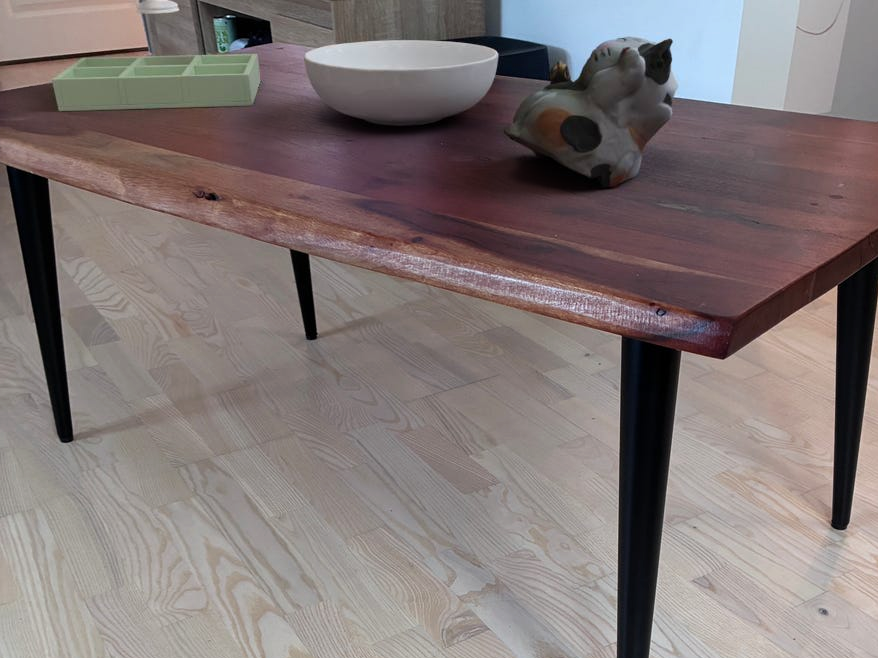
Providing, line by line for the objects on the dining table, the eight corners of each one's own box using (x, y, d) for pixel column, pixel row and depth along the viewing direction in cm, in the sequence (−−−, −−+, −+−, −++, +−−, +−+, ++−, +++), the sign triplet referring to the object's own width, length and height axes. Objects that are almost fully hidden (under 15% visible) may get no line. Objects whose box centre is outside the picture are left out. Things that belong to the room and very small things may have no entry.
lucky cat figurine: (524, 146, 91) (596, 10, 87) (629, 207, 90) (708, 72, 85) (480, 135, 77) (563, -28, 73) (604, 207, 76) (697, 45, 71)
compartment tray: (58, 111, 106) (51, 79, 104) (87, 86, 118) (81, 57, 117) (252, 105, 108) (248, 74, 107) (260, 82, 121) (257, 53, 119)
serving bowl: (534, 112, 105) (535, 48, 101) (416, 150, 90) (413, 76, 87) (394, 91, 116) (391, 32, 112) (268, 122, 101) (261, 55, 97)
